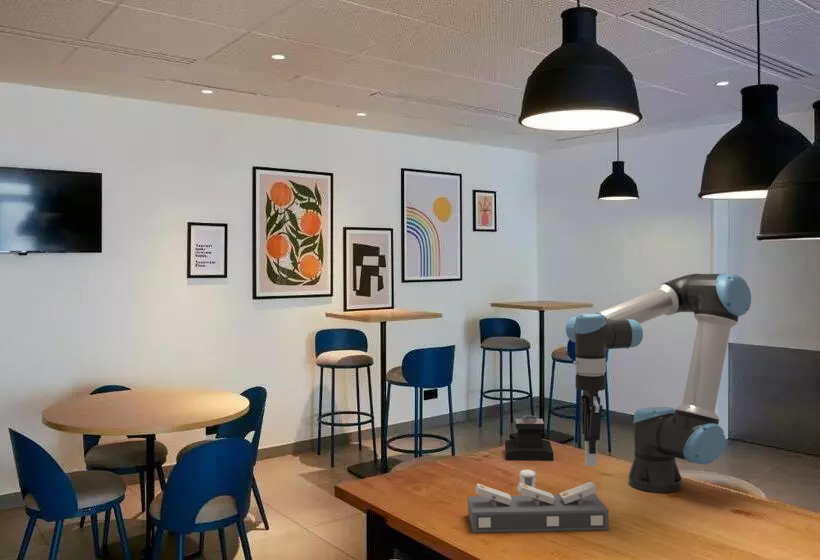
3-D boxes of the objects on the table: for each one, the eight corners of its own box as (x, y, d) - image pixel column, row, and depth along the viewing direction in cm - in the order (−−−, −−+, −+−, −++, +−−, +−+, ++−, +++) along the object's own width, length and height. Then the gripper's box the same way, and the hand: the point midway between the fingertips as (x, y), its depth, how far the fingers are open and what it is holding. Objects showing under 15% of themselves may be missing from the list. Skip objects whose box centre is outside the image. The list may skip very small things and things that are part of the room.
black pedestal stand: (505, 422, 232) (504, 409, 247) (506, 463, 234) (504, 448, 249) (553, 423, 231) (548, 409, 246) (553, 464, 232) (548, 448, 247)
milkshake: (539, 506, 189) (538, 469, 189) (519, 504, 190) (518, 469, 190) (539, 500, 193) (538, 465, 193) (520, 499, 194) (519, 464, 194)
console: (595, 512, 183) (595, 489, 183) (609, 530, 171) (608, 505, 171) (468, 515, 183) (467, 491, 183) (472, 532, 171) (472, 507, 170)
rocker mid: (549, 498, 179) (551, 492, 179) (553, 505, 175) (555, 498, 175) (516, 487, 179) (519, 481, 179) (519, 493, 174) (522, 487, 174)
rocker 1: (507, 499, 179) (509, 493, 179) (510, 505, 174) (512, 499, 174) (474, 488, 179) (476, 482, 179) (476, 494, 174) (478, 488, 174)
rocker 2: (593, 486, 179) (591, 480, 179) (598, 492, 175) (595, 485, 175) (561, 498, 179) (558, 492, 179) (565, 504, 175) (562, 498, 175)
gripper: (569, 370, 183) (570, 458, 183) (582, 377, 170) (583, 472, 170) (597, 369, 183) (598, 458, 183) (612, 377, 170) (613, 472, 170)
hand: (591, 465), depth 177 cm, fingers closed
